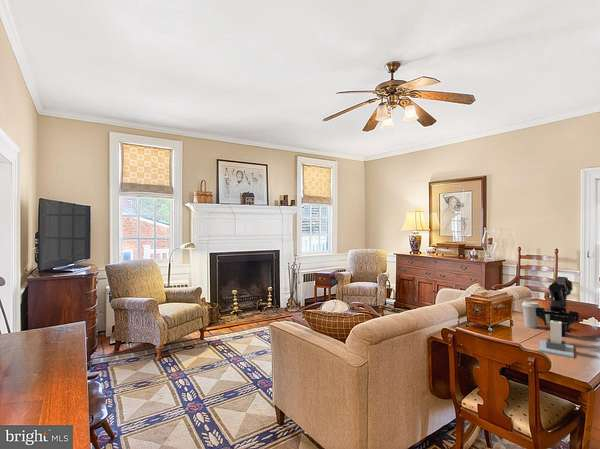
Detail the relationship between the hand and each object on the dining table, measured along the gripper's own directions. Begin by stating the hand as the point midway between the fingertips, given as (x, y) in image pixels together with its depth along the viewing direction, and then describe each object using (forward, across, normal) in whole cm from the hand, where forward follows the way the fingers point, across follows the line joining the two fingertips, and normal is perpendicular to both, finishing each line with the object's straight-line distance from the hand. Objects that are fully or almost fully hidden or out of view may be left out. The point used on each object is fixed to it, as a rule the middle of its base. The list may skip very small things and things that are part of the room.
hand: (556, 327), depth 183 cm
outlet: (+12, 0, +1) cm, 12 cm away
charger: (+12, 0, 0) cm, 12 cm away
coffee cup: (-15, -14, +28) cm, 35 cm away
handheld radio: (-23, -2, +37) cm, 43 cm away
